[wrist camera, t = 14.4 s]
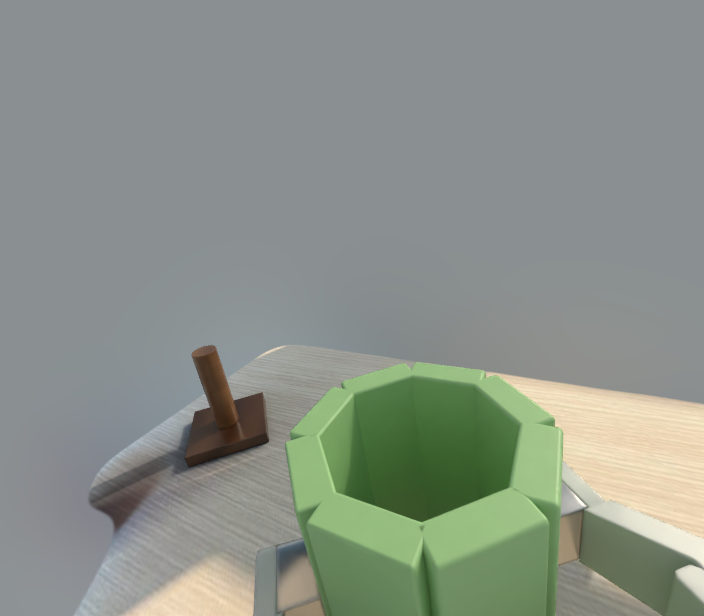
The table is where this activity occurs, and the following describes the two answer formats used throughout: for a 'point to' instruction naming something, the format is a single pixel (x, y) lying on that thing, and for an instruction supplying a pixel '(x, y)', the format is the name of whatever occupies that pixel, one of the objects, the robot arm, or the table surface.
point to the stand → (223, 415)
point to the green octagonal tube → (429, 495)
